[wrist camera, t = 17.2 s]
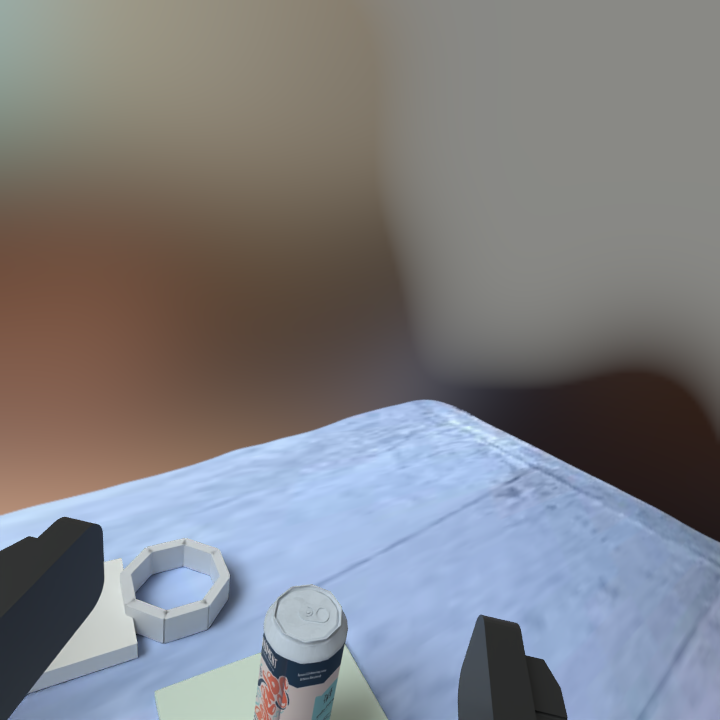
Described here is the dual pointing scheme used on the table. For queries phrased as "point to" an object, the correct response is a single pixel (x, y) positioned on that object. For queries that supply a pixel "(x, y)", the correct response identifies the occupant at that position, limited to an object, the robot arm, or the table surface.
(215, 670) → the sage mat
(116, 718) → the table surface
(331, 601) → the beer can
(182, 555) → the charging dock
